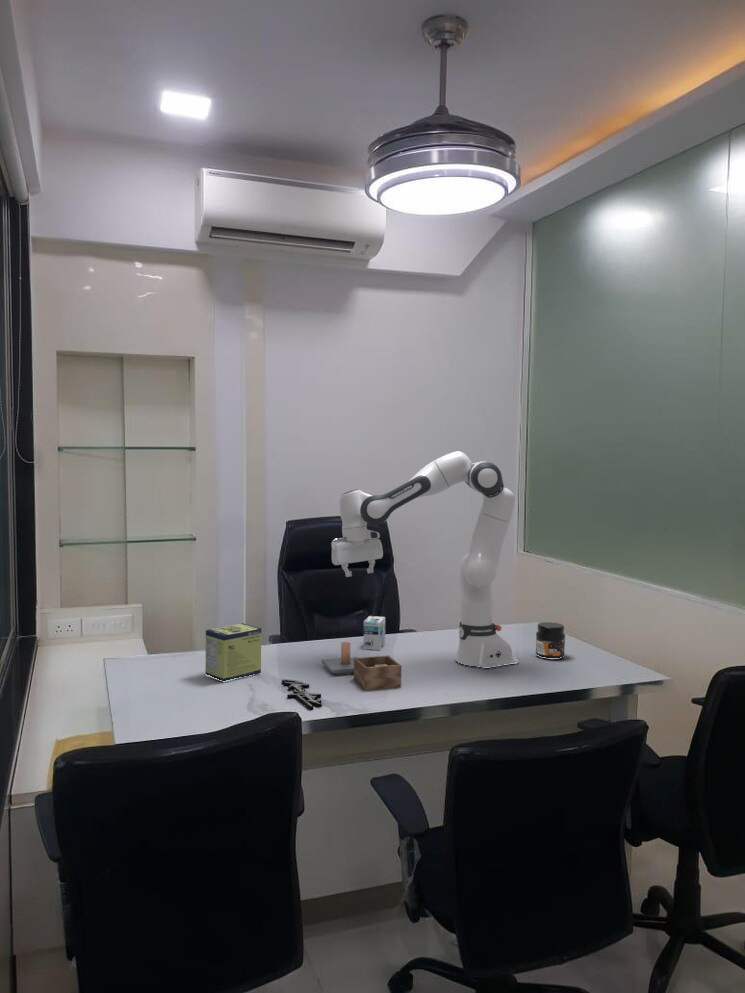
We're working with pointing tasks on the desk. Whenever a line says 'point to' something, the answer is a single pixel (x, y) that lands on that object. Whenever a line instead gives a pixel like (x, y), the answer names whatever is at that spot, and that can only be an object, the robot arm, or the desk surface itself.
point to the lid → (341, 661)
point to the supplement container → (550, 640)
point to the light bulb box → (374, 633)
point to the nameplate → (302, 693)
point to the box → (377, 672)
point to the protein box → (233, 651)
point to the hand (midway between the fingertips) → (359, 574)
